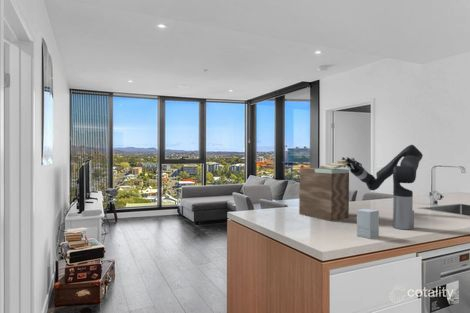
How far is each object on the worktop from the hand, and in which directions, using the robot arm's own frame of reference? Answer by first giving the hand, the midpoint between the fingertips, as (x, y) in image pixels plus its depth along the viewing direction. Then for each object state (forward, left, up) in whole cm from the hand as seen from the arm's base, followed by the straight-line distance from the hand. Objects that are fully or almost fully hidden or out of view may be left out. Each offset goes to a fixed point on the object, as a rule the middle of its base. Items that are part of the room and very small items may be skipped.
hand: (344, 158), depth 205 cm
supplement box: (+18, +48, -37) cm, 63 cm away
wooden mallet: (+4, +1, -4) cm, 6 cm away
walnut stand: (+14, -2, -37) cm, 39 cm away
